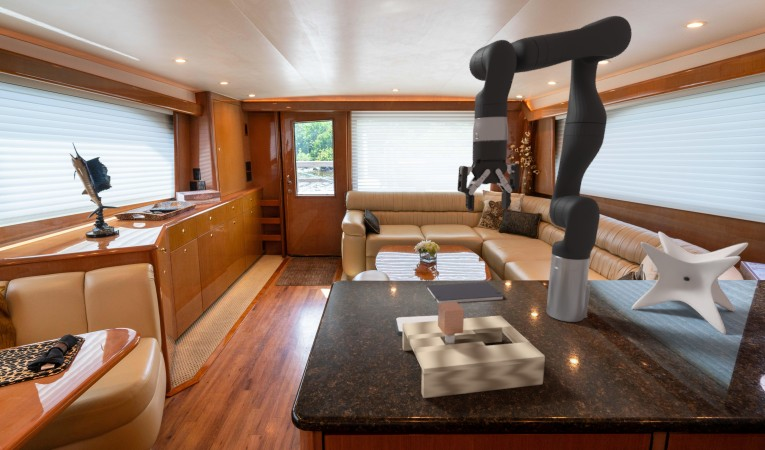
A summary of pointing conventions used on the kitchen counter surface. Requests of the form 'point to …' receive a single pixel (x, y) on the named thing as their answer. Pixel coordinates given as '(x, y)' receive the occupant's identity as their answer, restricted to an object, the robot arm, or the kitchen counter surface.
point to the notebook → (464, 292)
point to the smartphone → (411, 321)
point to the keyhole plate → (473, 357)
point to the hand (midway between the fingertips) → (487, 209)
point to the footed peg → (450, 320)
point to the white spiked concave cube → (690, 278)
